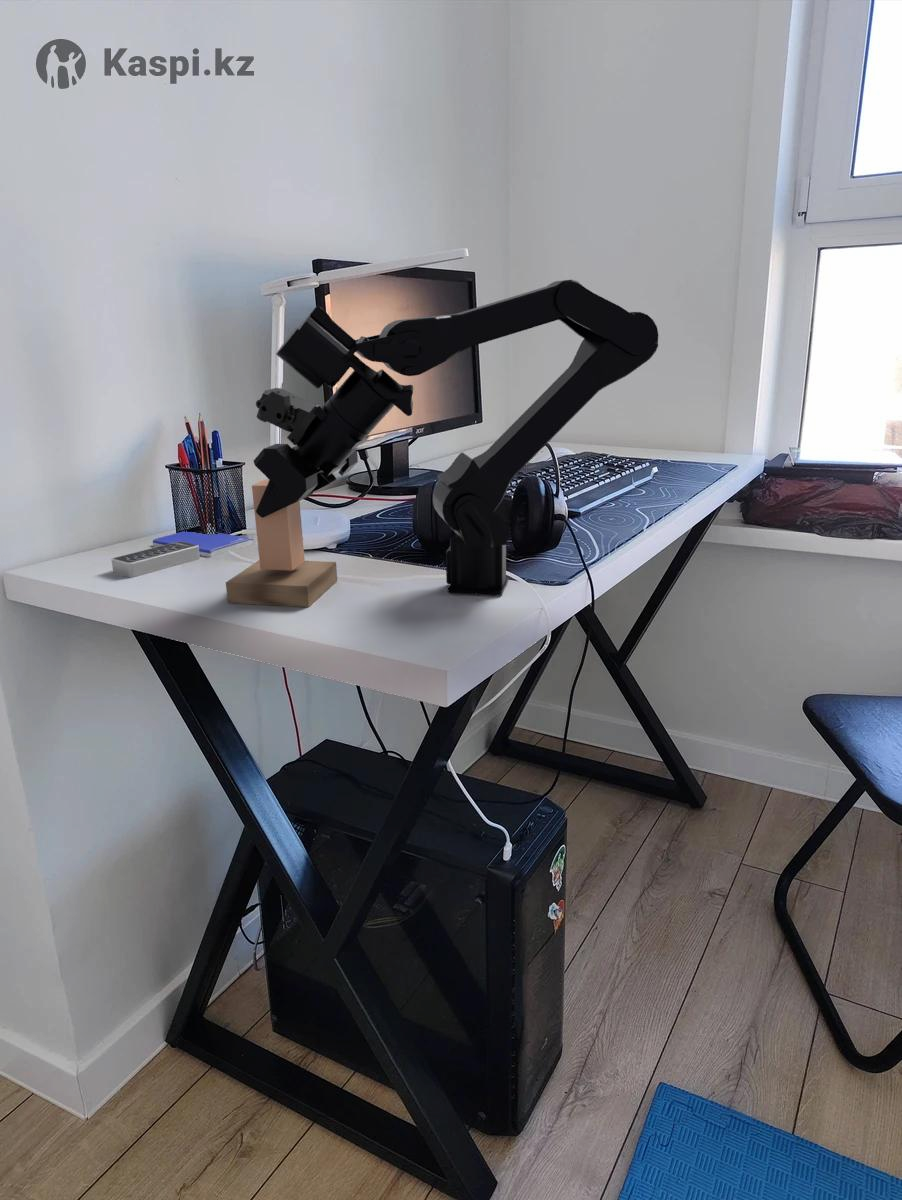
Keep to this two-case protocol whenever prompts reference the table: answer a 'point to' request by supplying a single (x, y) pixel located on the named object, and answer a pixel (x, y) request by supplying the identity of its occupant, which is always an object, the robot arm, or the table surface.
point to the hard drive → (206, 542)
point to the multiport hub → (155, 559)
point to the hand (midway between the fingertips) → (266, 510)
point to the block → (278, 534)
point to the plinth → (282, 584)
